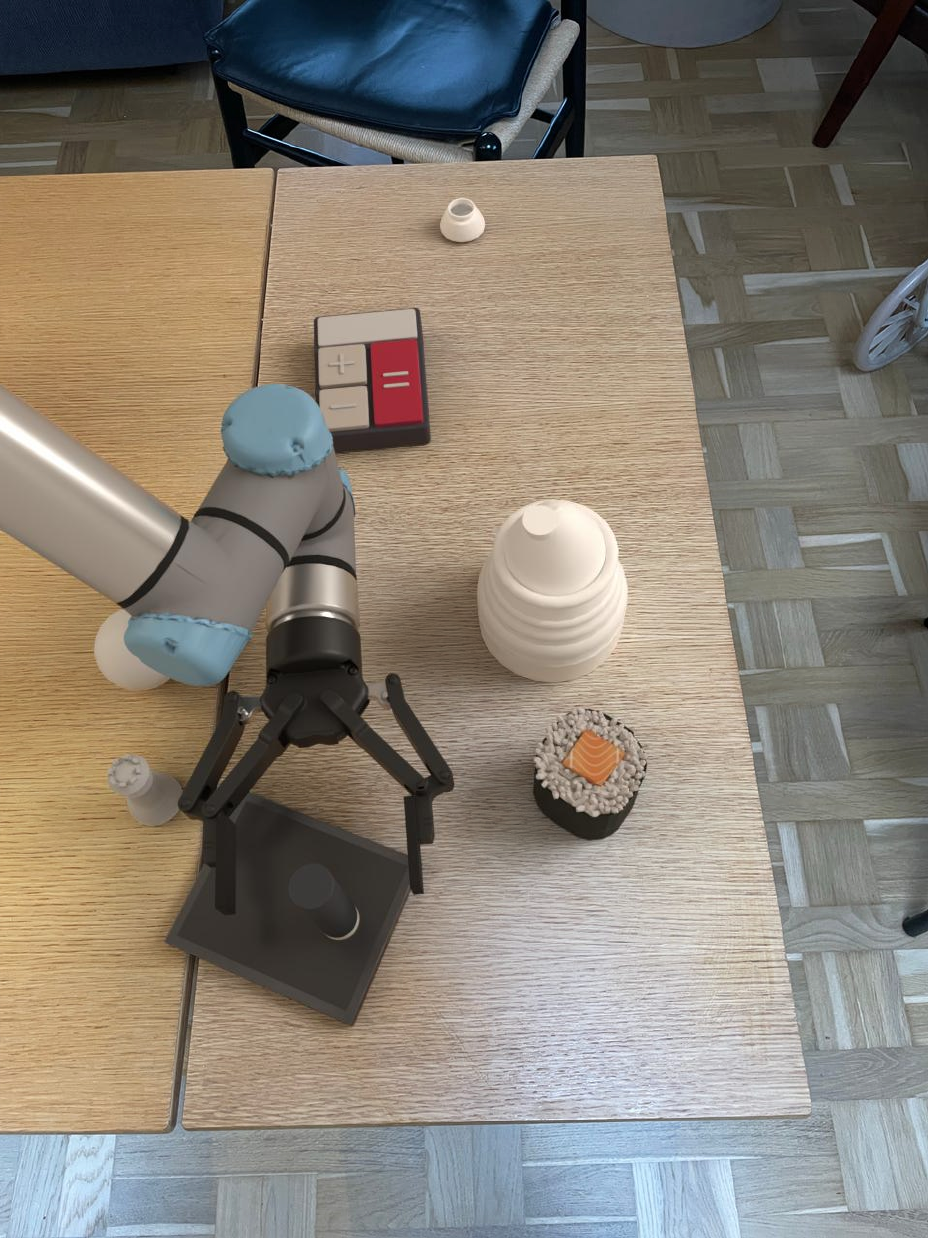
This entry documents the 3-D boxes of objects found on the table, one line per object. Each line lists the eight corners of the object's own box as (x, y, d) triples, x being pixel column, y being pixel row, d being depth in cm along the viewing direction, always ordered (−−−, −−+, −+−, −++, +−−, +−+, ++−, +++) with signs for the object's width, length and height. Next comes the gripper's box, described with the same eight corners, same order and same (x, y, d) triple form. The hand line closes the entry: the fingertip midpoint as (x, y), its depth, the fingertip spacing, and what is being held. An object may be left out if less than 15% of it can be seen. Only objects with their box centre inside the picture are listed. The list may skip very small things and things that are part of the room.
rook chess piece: (191, 779, 82) (160, 746, 75) (176, 831, 80) (143, 802, 73) (140, 772, 83) (105, 739, 76) (124, 823, 81) (86, 794, 74)
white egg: (197, 695, 86) (171, 660, 79) (113, 711, 86) (80, 677, 79) (191, 597, 91) (166, 556, 84) (111, 612, 90) (79, 572, 84)
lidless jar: (436, 241, 110) (479, 247, 110) (434, 220, 108) (478, 225, 107) (446, 210, 112) (489, 216, 112) (444, 189, 110) (488, 194, 109)
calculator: (314, 432, 94) (311, 311, 100) (322, 457, 98) (319, 339, 104) (428, 422, 94) (419, 301, 100) (431, 447, 98) (422, 329, 104)
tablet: (168, 944, 76) (162, 941, 75) (246, 793, 82) (242, 788, 80) (353, 1027, 73) (350, 1025, 72) (422, 863, 78) (420, 860, 77)
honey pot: (556, 711, 84) (566, 613, 68) (449, 620, 88) (433, 508, 72) (652, 612, 88) (682, 497, 72) (544, 530, 92) (550, 405, 76)
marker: (314, 931, 75) (280, 899, 64) (331, 894, 76) (300, 856, 66) (349, 946, 74) (321, 916, 64) (365, 908, 76) (341, 873, 65)
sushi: (567, 724, 83) (572, 686, 76) (654, 777, 81) (667, 744, 74) (514, 801, 80) (514, 769, 73) (602, 858, 78) (611, 832, 71)
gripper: (469, 637, 82) (497, 893, 73) (173, 669, 82) (162, 929, 73) (465, 594, 76) (495, 869, 66) (143, 629, 76) (126, 909, 66)
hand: (321, 901), depth 69 cm, fingers open, 13 cm apart
